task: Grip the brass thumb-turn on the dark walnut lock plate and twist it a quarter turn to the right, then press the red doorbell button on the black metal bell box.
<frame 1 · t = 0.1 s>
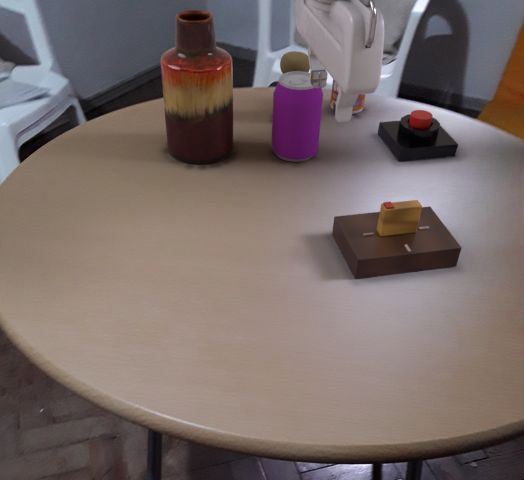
hand: (328, 101, 74), 19 cm above the table, tool pointing down, fingers open, 8 cm apart
thumb turn: (399, 217, 81), point 5 cm above the table, hinge at 0.0°
vase: (200, 150, 104), on the table
bell box: (415, 145, 107), on the table
cork: (292, 118, 113), on the table
pill bottle: (346, 109, 117), on the table
beverage can: (294, 153, 104), on the table
bell button: (420, 119, 104), point 4 cm above the table, slide at 0.1 cm
lock plate: (392, 250, 85), on the table
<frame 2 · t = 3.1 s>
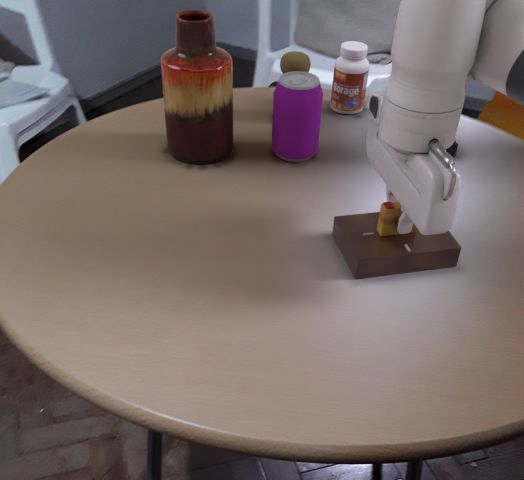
hand: (397, 224, 82), 4 cm above the table, tool pointing down, fingers closed on thumb turn, 2 cm apart
thumb turn: (399, 217, 81), point 5 cm above the table, hinge at -0.1°, touching gripper
everything else where it was.
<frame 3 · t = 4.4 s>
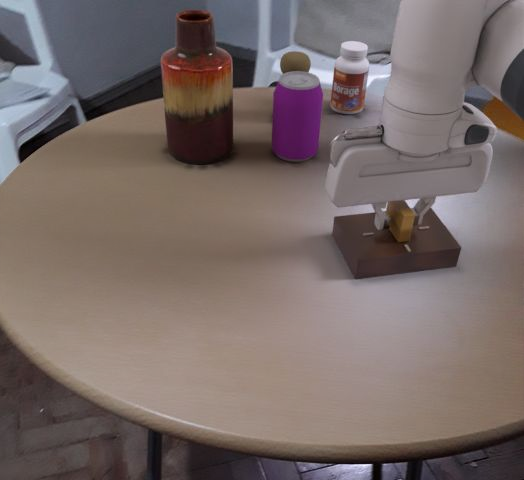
hand: (397, 225, 82), 4 cm above the table, tool pointing down, fingers open, 3 cm apart
thumb turn: (399, 217, 81), point 5 cm above the table, hinge at -89.5°
everything else where it was.
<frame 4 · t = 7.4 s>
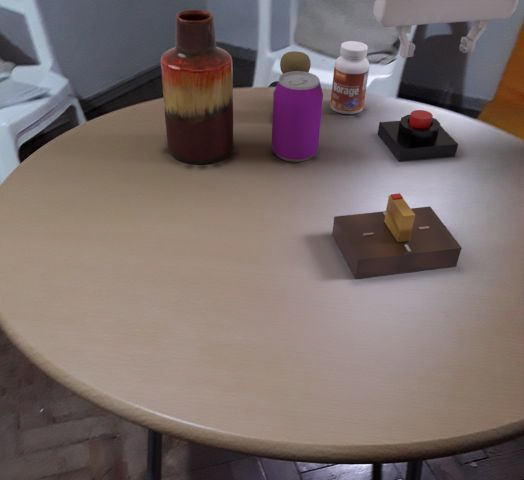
hand: (436, 54, 91), 17 cm above the table, tool pointing down, fingers open, 8 cm apart
nothing on the table moved.
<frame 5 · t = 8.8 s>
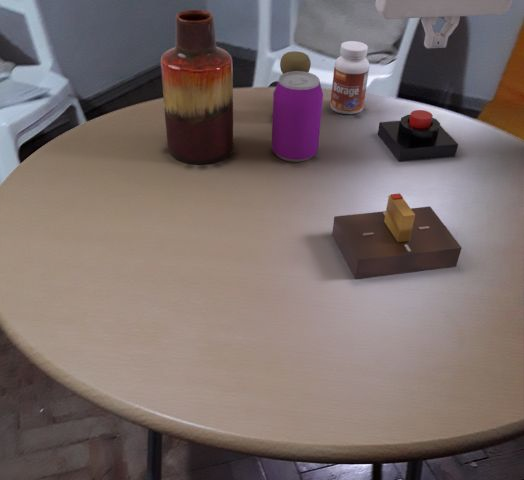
hand: (434, 47, 96), 16 cm above the table, tool pointing down, fingers closed
nothing on the table moved.
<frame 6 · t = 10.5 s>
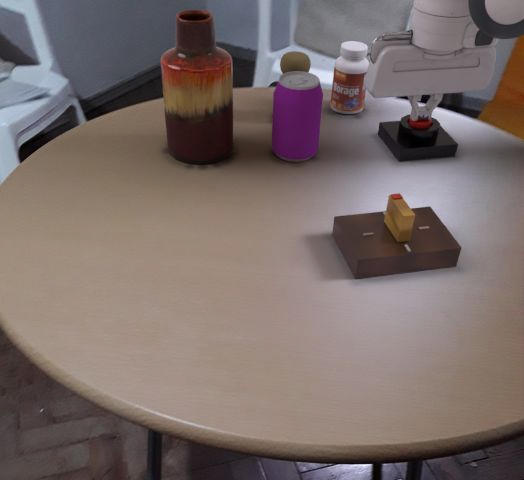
hand: (420, 119, 103), 5 cm above the table, tool pointing down, fingers closed, pressing on bell button
bell button: (419, 123, 104), point 4 cm above the table, slide at -0.6 cm, touching gripper
everything else where it was.
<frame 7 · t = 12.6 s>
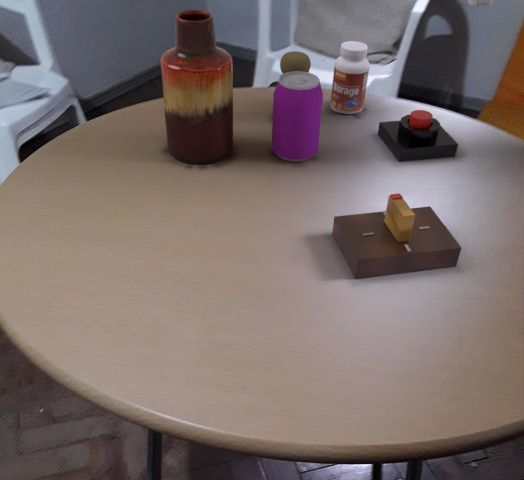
hand: (479, 4, 85), 24 cm above the table, tool pointing down, fingers closed
bell button: (420, 119, 104), point 4 cm above the table, slide at 0.1 cm
everything else where it was.
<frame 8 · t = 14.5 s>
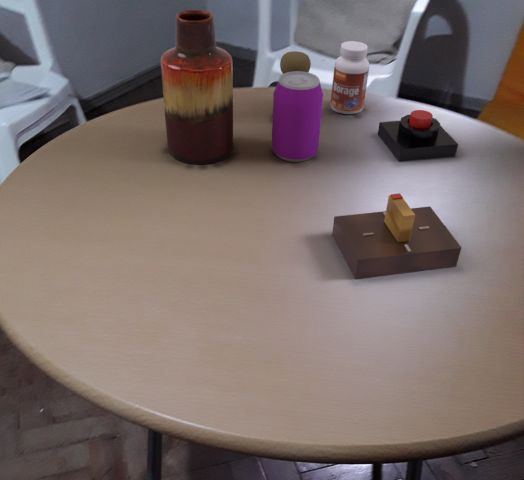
nothing on the table moved.
at the end: thumb turn at -90° (first picture: +0°); bell button pushed in 1.1 cm at the most during the clip, back to where it started at the end; bell button slide at 0.1 cm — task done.
